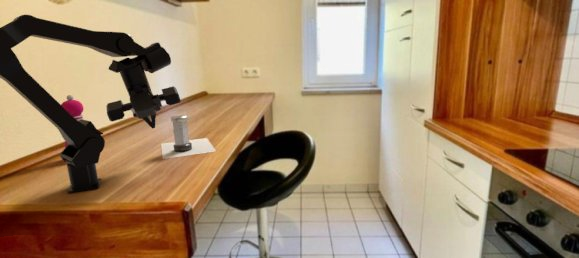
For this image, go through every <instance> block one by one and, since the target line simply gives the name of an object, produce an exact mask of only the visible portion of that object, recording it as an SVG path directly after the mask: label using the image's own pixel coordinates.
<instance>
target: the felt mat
mask: <svg viewBox="0 0 579 258" xmlns="http://www.w3.org/2000/svg"><path fill="white" fill-rule="evenodd" d="M189 142H190V143H191V144H192V150H190V151H186V152H175V151H174V144H175V141H172V142H166V143H160V146H161V156H162V160H166V159H172V158H173V159H174V158H179V157H180V158H181V157H188V156H194V155H200V154H208V153H213V152H217V150H216V148H215V147H214V146H213V144H212V143H211V142H210V140H209V139H208V137H205V138H197V139H189Z"/></svg>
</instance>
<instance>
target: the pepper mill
mask: <svg viewBox="0 0 579 258" xmlns="http://www.w3.org/2000/svg"><path fill="white" fill-rule="evenodd" d="M60 105H61V106H62V107H63V108H65V109H66V110H67V111H68V112H69V113H70V114H71V115H72V116H73V117H74V118H75V119H76V120H78V121H80V120H81V119H83V120H84V115H83V114H82V113H83V112H84V105H83V103H82V102H81V101H79V100H77V99H74V96H73V95H71V94H68V95H67V96H66V100H65V101H63V102H62V103H61V104H60ZM67 145H68V144H67V142H66V141H65V140H64V148H65V147H66V146H67Z"/></svg>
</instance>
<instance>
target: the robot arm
mask: <svg viewBox="0 0 579 258" xmlns="http://www.w3.org/2000/svg"><path fill="white" fill-rule="evenodd" d="M30 37H33V38H39V39H43V40H47V41H54V42H59V43H64V44H69V45H75V46H78V47H79V46H80V47H85V48H89V49H92V50H93V51H95V52H98V53H100V54H103V55H105V56H108V57H111V58H123V59H120V60H119V61H118V60H116V59H112V62H111V64H110V65H109V66H108V71H111V72H113V73H117V74H120V77H121V79H122V81H123V84H124V86H125V89H126V91H127V93H128V97H129V102H127V103H123V101H122V100H121V99H119V100H115V101H112V102H109V103H107V104H106V116H107V117H108V119H109V121H110V122H115V121H119V120H122V119H124V118H125V116H126V115H125V112H128V111H131V112H132V116H133V118H138V120H139V119H140V120H143V121H144V122H145V123H146V124H147V125H148V126H149V127H150V128H151V129H155V128H156V117H157V112H160V111H161V110H162V109H161V108H162V107H163V104H162V102H165V104H167V105H168V106H172V105H177V104H180V103H181V102H182V101H181V98H180V94H179V91H178V90H177V88H176V87H175V86H169V87H166V88H162V89H161V94H154V93H153V90H152V88H151V87H150V86H151V85H150V83H149V81H148V78H147V77H148V76H147V74H146V72H148V73H149V74H154V73H156V72H158V71H160V70H162V69H164V68H166V67H168V66H170V65H171V64H172V59H171V58H172V57H171V56H170V53H169V52H167V50H166V49H165V48H164V47H163V46H161V44H160V42H153V43H151V44H150V45H148V46H146V47H143V46H142V45H140V44H139V43H138V42H136V41H135V40H134V39H133V37H132V35H130V34H129V33H127V32H121V31H99V30H98V31H97V30H95V31H94V30H91V29H85V28H83V27H78V26H74V25H71V24H70V25H68V24H65V23H62V22H61V23H60V22H56V21H52V20H47V19H43V18H38V17H35V16H33V15H32V14H31V15H30V14H22V15H19V16H17V17H15V18H14V19H13V20H12V21H10V22H8V23H7V24H5V25H3V26H1V27H0V79H2V80H3V81H4V82H6V83H7V84H8V85H9V86H10V87H11V88H12V89H14V91H15V92H17V93H18V94H19V95H20V96H21V97H22V98H23V99H24V100H25V101H27V102H28V103H29V104H30V105H31V106H32V107H34V109H36V111H38V113H40V114H41V115H42V116H43V117H44V118H45V119H46V120H48V121H49V122H50V123H51V124H52V125H53V126H54V127H56V129H58V132H59V133H60V135H61V137H62V138H63V140H64V142H65V141H66V142H67V144H68V145H67V146H66V147H65V146H64V149H63V150H61V152H60V153H59V157H60V158H61V159H62V161H63V162H64V163H67V164H66V167H67V173H68V177H69V182H70V183H69V184H70V186H69V187H68V189H67V190H66V193H67V194H71V193H78V192H83V191H89V190H95V189H96V190H97V189H99V188H100V185H101V183H102V181H103V179H102V178H101V177H100V178H99V177H98V171H97V170H98V169H97V166H96V164H98V163H99V160H100V156H101V153H102V151H103V150H104V148H105V144H106V141H105V138H104V137H103V135H104V132H102V131H100V130H98V129H97V127H96V126H95V124H94V123H93V121H90V120H86V119H84V118H83V119H81V120H80V121H78V120H76V119H75V118H74V117H73V116H72V115H71V114H70V113H69V112H68V111H67V110H66V109H65V108H63V107H62V106H61V104H60V102H58V101H57V100H56V99H55V98H54V97H53V96H52V95H51V94H50V93H49V92H48V91H47V90H46V89H45V88H44V87H43V86H42V85H41V84H40V83H39V82H37V80H36V79H35V78H34V77H33V76H32V75H30V74H29V72H27V70H26V69H25V68H24V67H23V65H22V63H21V62H20V60H19V58H18V56H17V54H16V53H15V52H14V50H13V48H14V47H16V46H17V45H19V44H20V43H22V42H24V41H25V40H28V38H30ZM124 57H125V58H124ZM130 57H132V58H130Z"/></svg>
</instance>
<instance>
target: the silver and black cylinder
mask: <svg viewBox="0 0 579 258" xmlns="http://www.w3.org/2000/svg"><path fill="white" fill-rule="evenodd" d="M170 121H171V122H172V127H173V136H174V142H175V144H174V151H175V152H186V151H190V150H192V144H191V143H190V142H189V140H190V135H189V127H188V121H189V115H187V114H185V115H184V114H183V115H182V114H181V115H179V114H178V115H174V116H171V117H170Z"/></svg>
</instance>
